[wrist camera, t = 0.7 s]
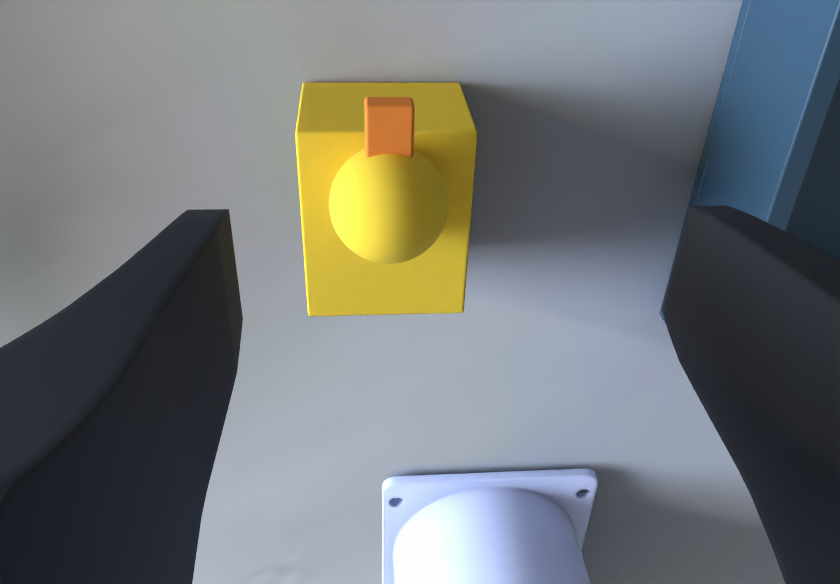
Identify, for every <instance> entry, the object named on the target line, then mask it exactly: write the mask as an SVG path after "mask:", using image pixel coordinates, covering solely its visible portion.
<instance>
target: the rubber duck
mask: <svg viewBox="0 0 840 584" xmlns="http://www.w3.org/2000/svg"><path fill="white" fill-rule="evenodd" d="M295 137H296V152H297V166H298V180H299V194H300V208H301V222H302V237H303V251H304V265H305V279H306V293H307V307H308V315H309V316H341V315H384V314H427V313H462V312H463V311H464V299H465V287H466V274H467V261H468V248H469V235H470V222H471V210H472V197H473V184H474V171H475V158H476V145H477V130H476V128H475V125H474V122H473V119H472V116H471V114H470V111H469V108H468V105H467V102H466V99H465V97H464V94H463V91H462V88H461V85H460V83H315V82H305V83H303V85H302V91H301V98H300V105H299V112H298V118H297V125H296V132H295Z"/></svg>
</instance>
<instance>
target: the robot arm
mask: <svg viewBox="0 0 840 584" xmlns="http://www.w3.org/2000/svg"><path fill="white" fill-rule="evenodd" d="M662 313H663V316H664V319H665V322H666V325H667V328H668V331H669V334H670V337H671V340H672V343H673V345H674V348H675V351H676V353H677V356H678V359H679V361H680V363H681V365H682V367H683V369H684V371H685V373H686V375H687V377H688V378H689V380H690V382H691V384H692V386H693V388H694V390H695V392H696V393H697V395H698V397H699V399H700V401H701V403H702V404H703V406H704V408H705V410H706V412H707V414H708V415H709V417H710V419H711V421H712V423H713V424H714V426H715V428H716V430H717V432H718V433H719V435H720V437H721V439H722V441H723V443H724V444H725V446H726V448H727V450H728V452H729V453H730V455H731V457H732V459H733V461H734V463H735V464H736V466H737V468H738V470H739V472H740V474H741V476H742V478H743V480H744V482H745V484H746V486H747V488H748V490H749V492H750V494H751V497H752V499H753V501H754V504H755V506H756V509H757V511H758V514H759V516H760V519H761V521H762V523H763V526H764V528H765V531H766V533H767V536H768V538H769V541H770V543H771V546H772V548H773V551H774V553H775V556H776V559H777V561H778V564H779V567H780V569H781V572H782V575H783V578H784V580H785V583H786V584H840V259H838V258H836V257H834V256H832V255H830V254H828V253H826V252H824V251H822V250H820V249H818V248H816V247H814V246H812V245H810V244H809V243H807V242H805V241H803V240H801V239H799V238H797V237H795V236H793V235H791V234H789V233H787V232H785V231H783V230H781V229H779V228H777V227H775V226H773V225H771V224H769V223H767V222H765V221H763V220H761V219H759V218H757V217H755V216H753V215H750V214H748V213H746V212H743V211H741V210H738V209H736V208H733V207H730V206H727V205H716V206H689V210H688V214H687V218H686V221H685V225H684V229H683V232H682V236H681V240H680V244H679V247H678V251H677V255H676V258H675V262H674V266H673V270H672V273H671V277H670V281H669V284H668V288H667V292H666V296H665V299H664V303H663V307H662ZM242 320H243V317H242V309H241V301H240V294H239V286H238V278H237V270H236V262H235V255H234V247H233V239H232V231H231V223H230V215H229V209H220V210H187V211H185V212H184V213H183V214H181V215H180V216H179V217H178V218H177V219H175V220H174V221H173V222H172V223H171V224H170V225H168V226H167V227H166V228H165V229H164V230H163V231H162V232H160V233H159V234H158V235H157V236H156V237H155V238H154V239H152V240H151V241H150V242H149V243H148V244H147V245H146V246H144V247H143V248H142V249H141V250H140V251H138V252H137V253H136V254H135V255H134V256H132V257H131V258H130V259H129V260H128V261H127V262H125V263H124V264H123V265H122V266H121V267H119V268H118V269H117V270H116V271H114V272H113V273H112V274H110V275H109V276H108V277H106V278H105V279H104V280H102V281H101V282H100V283H98V284H97V285H96V286H94V287H93V288H92V289H90V290H89V291H88V292H86V293H85V294H84V295H82V296H81V297H80V298H78V299H77V300H76V301H74V302H73V303H72V304H70V305H69V306H67V307H66V308H65V309H63V310H62V311H60V312H59V313H57V314H56V315H54V316H52V317H51V318H49V319H48V320H46V321H45V322H43V323H42V324H40V325H38V326H37V327H35V328H33V329H32V330H30V331H28V332H27V333H25V334H23V335H22V336H20V337H18V338H17V339H15V340H13V341H12V342H10V343H8V344H6V345H4V346H3V347H1V348H0V584H192V580H193V573H194V566H195V558H196V551H197V544H198V537H199V530H200V523H201V516H202V512H203V507H204V502H205V497H206V492H207V488H208V484H209V480H210V476H211V472H212V468H213V465H214V461H215V457H216V453H217V449H218V445H219V441H220V437H221V433H222V430H223V426H224V422H225V418H226V414H227V410H228V406H229V402H230V398H231V394H232V390H233V386H234V382H235V378H236V374H237V367H238V358H239V350H240V340H241V330H242ZM597 486H598V479H597V476H596V473H595V472H594V471H593V470H591V469H585V468H583V469H559V470H534V471H510V472H486V473H461V474H437V475H413V476H394V477H390V478H388V479H386V480H385V481H384V482H383V485H382V584H590V581H589V577H588V574H587V571H586V567H585V564H584V560H583V557H582V554H581V550H582V546H583V542H584V538H585V534H586V530H587V526H588V522H589V518H590V514H591V510H592V506H593V502H594V498H595V494H596V490H597ZM396 497H398V498H396Z"/></svg>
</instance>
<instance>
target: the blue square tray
mask: <svg viewBox="0 0 840 584" xmlns="http://www.w3.org/2000/svg"><path fill="white" fill-rule="evenodd" d="M716 205H727V206H730V207H733V208H736V209H738V210H741V211H743V212H746V213H748V214H750V215H753V216H755V217H757V218H759V219H761V220H763V221H765V222H767V223H769V224H771V225H773V226H775V227H777V228H779V229H781V230H783V231H785V232H787V233H789V234H791V235H793V236H795V237H797V238H799V239H801V240H803V241H805V242H807V243H809V244H810V245H812V246H814V247H816V248H818V249H820V250H822V251H824V252H826V253H828V254H830V255H832V256H834V257H836V258H838V259H840V0H743V3H742V7H741V11H740V14H739V18H738V22H737V26H736V30H735V33H734V37H733V41H732V45H731V48H730V52H729V56H728V60H727V63H726V67H725V71H724V75H723V78H722V82H721V86H720V90H719V93H718V97H717V101H716V105H715V108H714V112H713V116H712V120H711V123H710V127H709V131H708V135H707V138H706V142H705V146H704V150H703V153H702V157H701V161H700V165H699V168H698V172H697V176H696V180H695V183H694V187H693V191H692V195H691V199H690V202H689V206H716ZM689 206H688V210H689ZM688 210H687V214H688ZM687 214H686V217H685V221H686V218H687ZM685 221H684V225H685ZM684 225H683V229H684ZM683 229H682V232H683ZM682 232H681V236H682ZM681 236H680V240H681ZM680 240H679V244H680ZM679 244H678V247H679ZM678 247H677V251H678ZM677 251H676V255H677ZM676 255H675V258H676ZM674 262H675V259H674ZM674 262H673V266H674ZM673 266H672V270H673ZM672 270H671V273H672ZM670 277H671V274H670ZM670 277H669V281H670ZM669 281H668V284H669ZM667 288H668V285H667ZM666 292H667V289H666ZM666 292H665V296H666ZM665 296H664V299H665ZM663 303H664V300H663ZM662 307H663V304H662ZM662 307H661V311H660V315H661V317H662V319H663V320H664V321H665V319H664V316H663V313H662ZM665 323H666V322H665Z"/></svg>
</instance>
